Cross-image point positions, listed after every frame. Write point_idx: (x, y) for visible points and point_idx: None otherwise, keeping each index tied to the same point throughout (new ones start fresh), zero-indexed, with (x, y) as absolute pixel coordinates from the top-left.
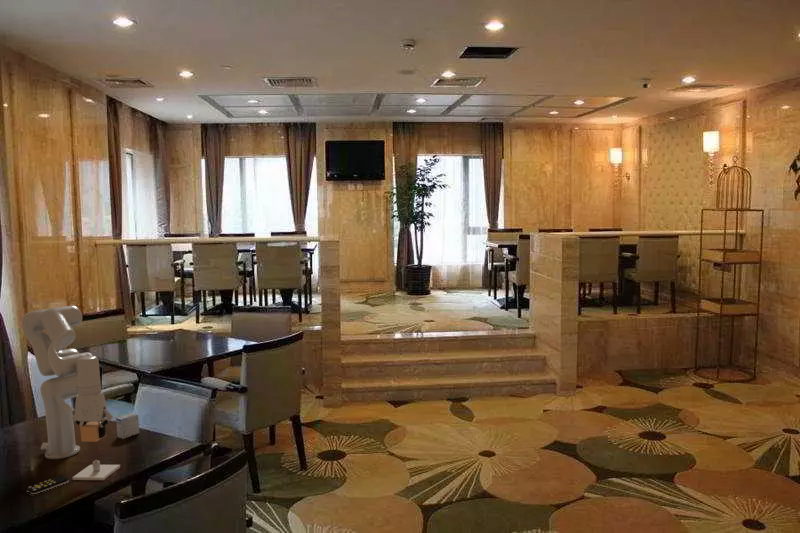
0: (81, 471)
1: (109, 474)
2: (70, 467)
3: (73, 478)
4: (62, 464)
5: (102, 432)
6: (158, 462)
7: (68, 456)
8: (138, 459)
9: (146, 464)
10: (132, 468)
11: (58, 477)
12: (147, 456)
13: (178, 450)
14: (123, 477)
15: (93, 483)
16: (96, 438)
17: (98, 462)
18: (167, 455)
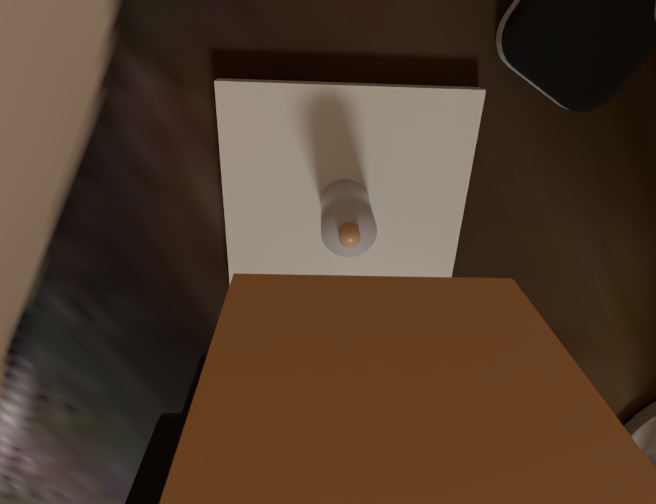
0: (460, 193)
1: (222, 162)
2: (581, 283)
3: (476, 89)
4: (651, 322)
5: (162, 450)
6: (25, 347)
7: (647, 408)
8: (189, 381)
9: (83, 322)
10: (135, 269)
11: (601, 63)
12: (161, 414)
13: (33, 474)
14: (92, 129)
15: (268, 15)
16: (226, 304)
17: (322, 224)
18: (47, 425)
